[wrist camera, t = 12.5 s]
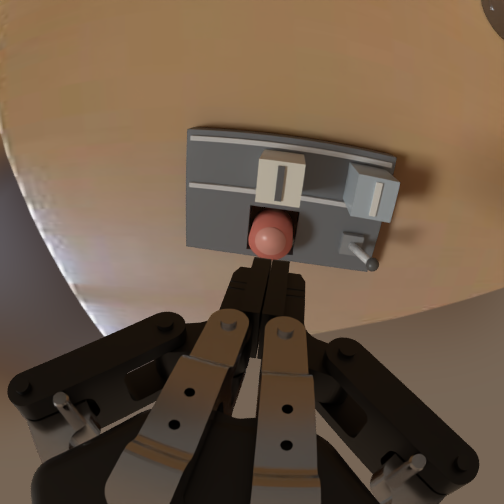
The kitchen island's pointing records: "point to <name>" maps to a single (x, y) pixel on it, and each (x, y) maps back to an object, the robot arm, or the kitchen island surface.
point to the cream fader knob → (280, 178)
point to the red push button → (271, 233)
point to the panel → (243, 197)
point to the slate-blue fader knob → (370, 192)
